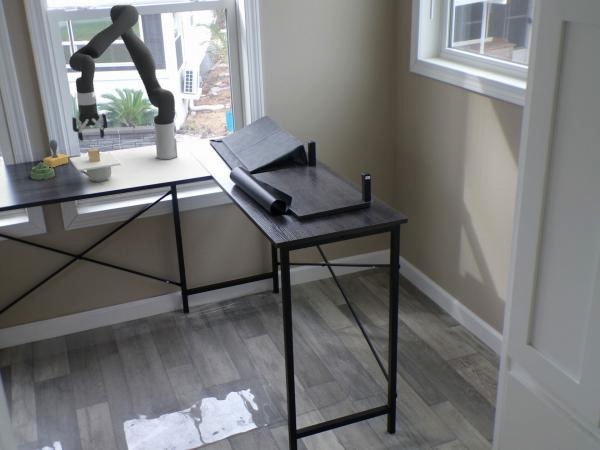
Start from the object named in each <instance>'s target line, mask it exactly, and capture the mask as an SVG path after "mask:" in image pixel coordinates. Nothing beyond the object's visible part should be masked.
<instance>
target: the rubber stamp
mask: <svg viewBox="0 0 600 450" xmlns="http://www.w3.org/2000/svg"><path fill="white" fill-rule="evenodd" d="M49 147H50V149H51V151H52V153H53V154H52V156H47V157H44V158H43V159H42V161H43V162H42V163H44V164H45V165H49V167H51V168H53V167H54V168H56V166H57V167H59V165H60V166H63V165H65V164H68V163H69V158H68V157H69V156H68V155H67V154H61V153H57V149H58V142H57V140H55V139H52V140H50V141H49ZM62 164H63V165H62ZM54 168H53V169H54Z"/></svg>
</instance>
